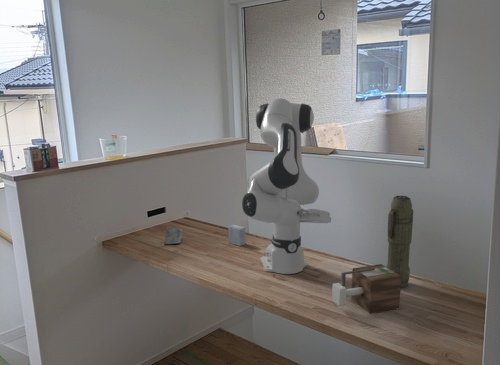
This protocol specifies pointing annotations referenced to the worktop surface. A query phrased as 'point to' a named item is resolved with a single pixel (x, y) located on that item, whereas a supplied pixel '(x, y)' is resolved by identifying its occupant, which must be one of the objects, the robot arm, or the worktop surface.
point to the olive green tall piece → (400, 237)
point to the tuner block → (377, 288)
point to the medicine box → (236, 235)
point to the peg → (341, 292)
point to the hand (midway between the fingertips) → (319, 219)
